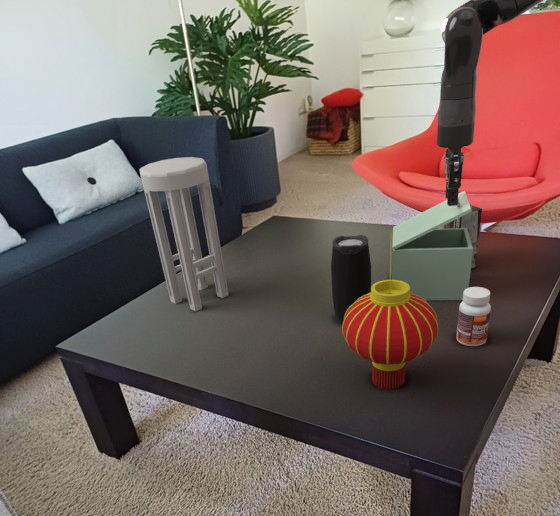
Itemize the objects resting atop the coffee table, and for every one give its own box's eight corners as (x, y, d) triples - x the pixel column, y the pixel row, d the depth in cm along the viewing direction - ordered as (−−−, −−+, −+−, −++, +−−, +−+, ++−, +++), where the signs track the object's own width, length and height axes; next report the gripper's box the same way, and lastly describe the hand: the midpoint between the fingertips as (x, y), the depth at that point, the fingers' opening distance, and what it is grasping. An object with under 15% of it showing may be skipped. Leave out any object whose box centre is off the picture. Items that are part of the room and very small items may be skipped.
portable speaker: (358, 332, 119) (357, 250, 108) (325, 322, 125) (321, 243, 114) (378, 316, 124) (379, 236, 113) (346, 307, 130) (343, 230, 119)
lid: (466, 193, 125) (457, 174, 123) (472, 211, 114) (463, 191, 112) (394, 229, 133) (385, 212, 131) (393, 250, 122) (384, 231, 120)
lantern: (394, 348, 112) (399, 208, 95) (453, 387, 99) (469, 232, 82) (327, 375, 106) (319, 231, 89) (380, 420, 93) (382, 261, 76)
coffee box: (476, 268, 141) (483, 208, 132) (456, 273, 139) (462, 213, 130) (455, 257, 148) (460, 200, 139) (435, 262, 147) (440, 205, 138)
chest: (461, 277, 137) (467, 227, 130) (467, 301, 126) (473, 248, 119) (392, 278, 141) (393, 230, 133) (391, 301, 130) (392, 250, 122)
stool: (160, 302, 143) (126, 169, 123) (204, 282, 151) (179, 154, 132) (194, 318, 133) (163, 175, 114) (239, 295, 141) (218, 159, 122)
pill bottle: (474, 351, 108) (480, 301, 102) (449, 340, 112) (454, 292, 106) (492, 340, 111) (499, 291, 105) (468, 330, 115) (473, 282, 109)
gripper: (478, 125, 104) (471, 210, 114) (471, 113, 116) (465, 191, 125) (439, 129, 106) (435, 212, 115) (436, 117, 117) (432, 193, 127)
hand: (451, 201), depth 120 cm, fingers closed on lid, 5 cm apart
